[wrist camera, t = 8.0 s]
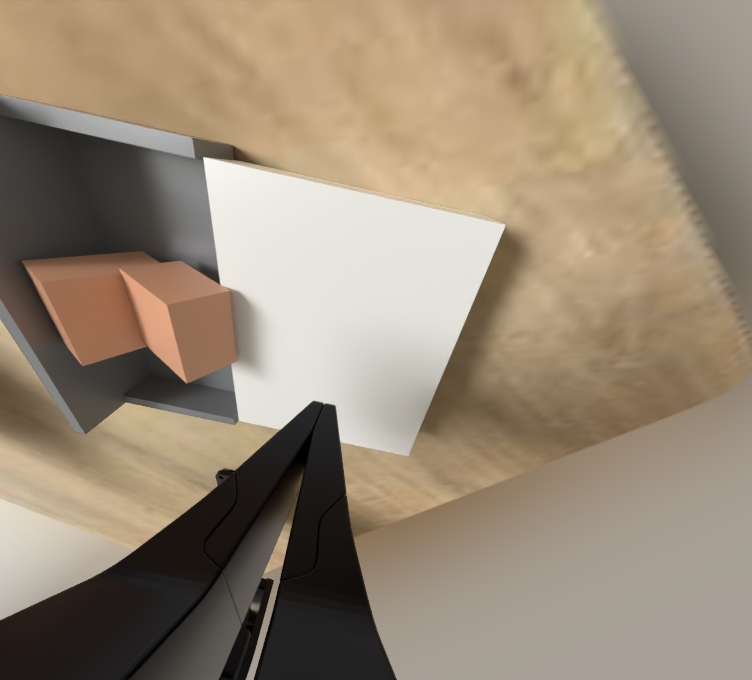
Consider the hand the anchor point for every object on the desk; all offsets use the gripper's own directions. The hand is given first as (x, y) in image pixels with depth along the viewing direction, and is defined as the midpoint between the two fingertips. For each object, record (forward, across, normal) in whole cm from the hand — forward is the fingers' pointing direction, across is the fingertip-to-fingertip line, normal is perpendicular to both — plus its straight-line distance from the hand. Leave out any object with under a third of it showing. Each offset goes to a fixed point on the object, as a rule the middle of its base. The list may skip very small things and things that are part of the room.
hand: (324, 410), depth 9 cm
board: (+7, 0, 0) cm, 7 cm away
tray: (+7, +10, 0) cm, 12 cm away
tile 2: (+3, +10, 0) cm, 11 cm away
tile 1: (+5, +7, 0) cm, 9 cm away
